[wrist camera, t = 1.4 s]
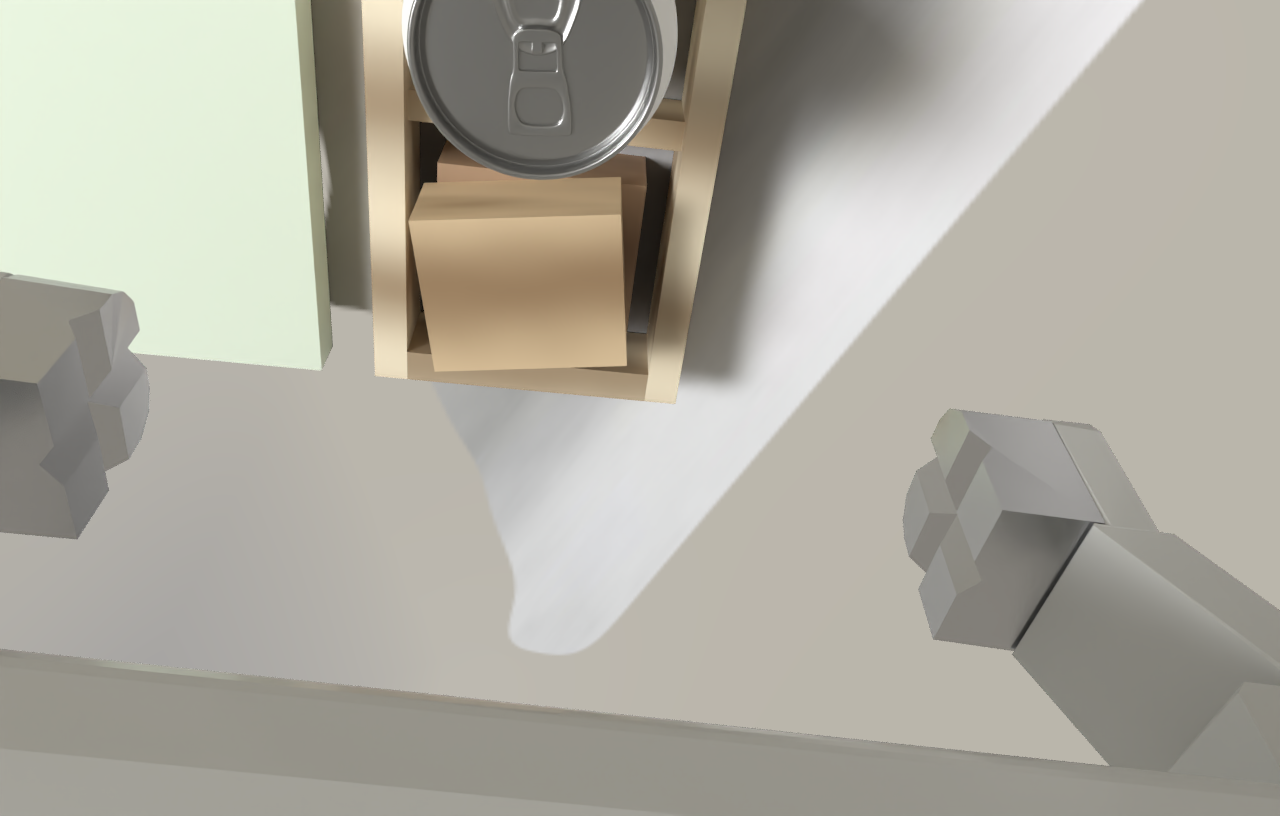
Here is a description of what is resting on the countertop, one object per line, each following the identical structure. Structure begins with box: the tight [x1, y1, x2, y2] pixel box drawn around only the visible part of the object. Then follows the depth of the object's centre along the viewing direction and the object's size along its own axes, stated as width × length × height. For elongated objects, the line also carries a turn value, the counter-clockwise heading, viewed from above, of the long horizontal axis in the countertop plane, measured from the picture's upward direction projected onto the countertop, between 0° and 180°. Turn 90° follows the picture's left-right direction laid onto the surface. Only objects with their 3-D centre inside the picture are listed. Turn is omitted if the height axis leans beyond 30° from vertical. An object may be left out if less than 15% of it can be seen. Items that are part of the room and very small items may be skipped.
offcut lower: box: [437, 140, 647, 328], centre depth 36 cm, size 6×7×3 cm
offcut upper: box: [408, 177, 627, 372], centre depth 33 cm, size 6×7×3 cm
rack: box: [362, 0, 747, 404], centre depth 33 cm, size 20×11×3 cm, turn 173°
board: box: [0, 0, 333, 370], centre depth 34 cm, size 14×14×2 cm
